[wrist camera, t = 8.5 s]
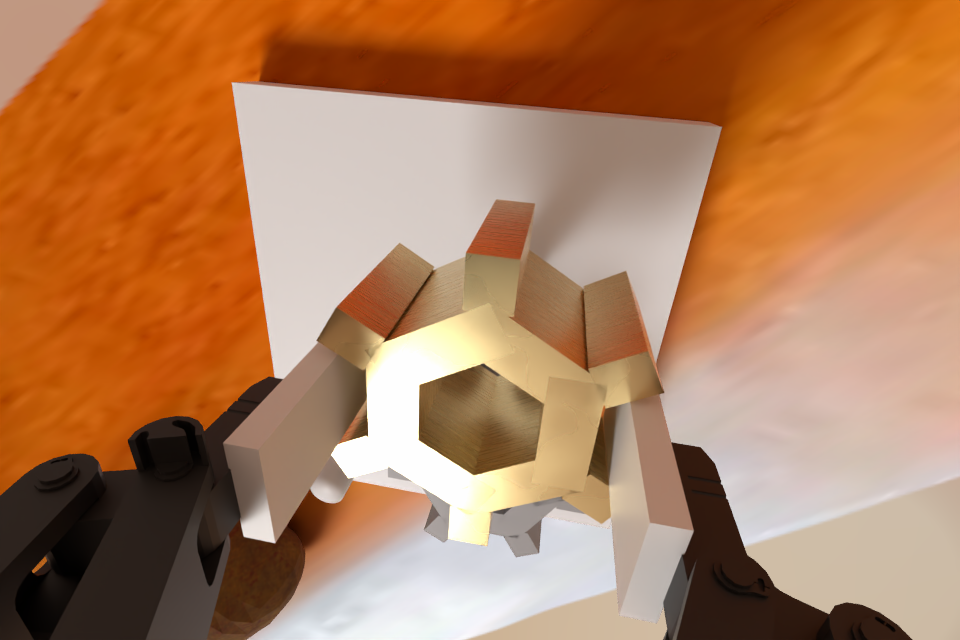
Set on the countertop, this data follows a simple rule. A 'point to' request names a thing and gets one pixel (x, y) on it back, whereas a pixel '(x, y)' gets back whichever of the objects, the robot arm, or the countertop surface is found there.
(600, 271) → the gear board
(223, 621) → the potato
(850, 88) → the countertop surface
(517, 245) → the brass gear
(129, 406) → the countertop surface
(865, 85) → the countertop surface
